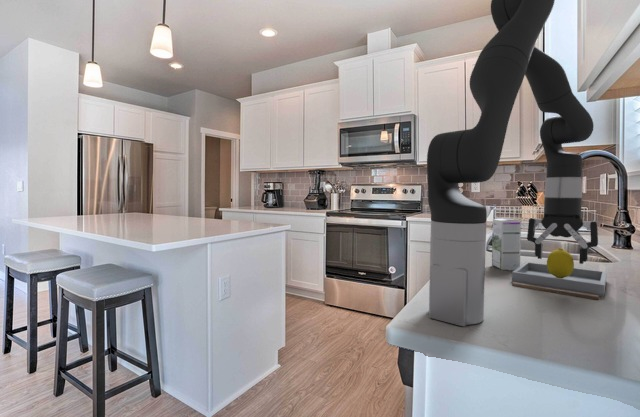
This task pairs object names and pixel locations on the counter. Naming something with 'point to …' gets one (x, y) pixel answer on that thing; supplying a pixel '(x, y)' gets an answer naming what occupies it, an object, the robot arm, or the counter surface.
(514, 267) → the syrup box
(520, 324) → the counter surface
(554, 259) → the lemon
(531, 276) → the tray
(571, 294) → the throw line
